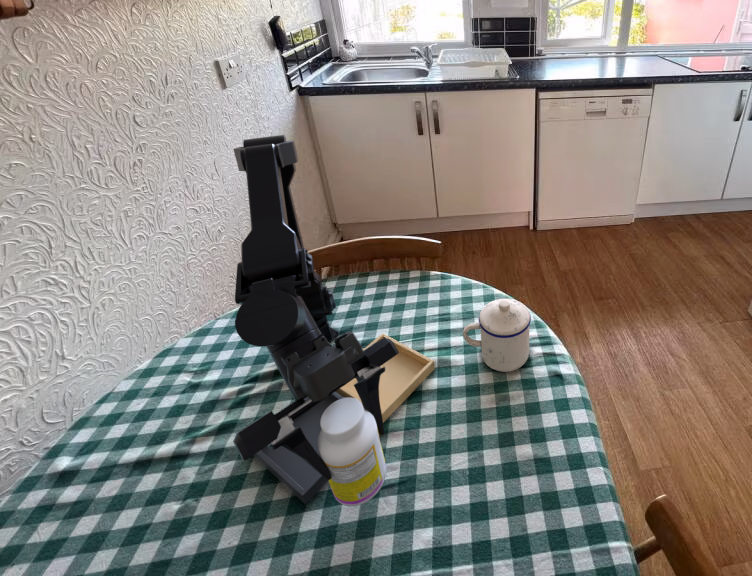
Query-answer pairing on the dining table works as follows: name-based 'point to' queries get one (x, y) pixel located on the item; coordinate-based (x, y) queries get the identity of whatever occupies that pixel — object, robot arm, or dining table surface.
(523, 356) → the teacup with lid
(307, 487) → the dark tray
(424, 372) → the light tray
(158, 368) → the dining table surface
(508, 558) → the dining table surface
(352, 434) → the supplement bottle
